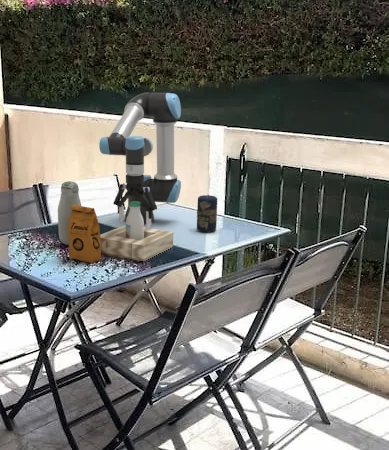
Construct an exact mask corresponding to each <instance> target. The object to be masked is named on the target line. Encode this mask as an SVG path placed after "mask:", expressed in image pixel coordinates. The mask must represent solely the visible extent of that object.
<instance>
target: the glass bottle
mask: <svg viewBox="0 0 389 450" xmlns="http://www.w3.org/2000/svg"><path fill="white" fill-rule="evenodd" d="M79 192H80V191H79V185H78V183H77V182H75V181H64V182H62V184H61V186H60V197H59V198H60V200H59V202H58V207H57V224H58V225H57V226H58V237H59V238H58V239H59V240H60V242H61V243H62V244H63V245H67V246H69V239H68V223H69V219H70V215H71V212H72V209H71V206H72V205H76V206H82V202H81V199H80V194H79Z"/></svg>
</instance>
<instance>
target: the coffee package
mask: <svg viewBox="0 0 389 450" xmlns="http://www.w3.org/2000/svg"><path fill="white" fill-rule="evenodd" d="M71 209H72V212H71V215H70V219H69V223H68V239H69V245H68V253H69V255H68V258H69V259H74V260H77V261H80V262H85V263H90V264H93V263H96V262H97V261H98V262H99V261H101V259H102V254H101V237H100V235H101V229H100V225H99V220H98V216H97V213H96V209H95V208H94V207H90V206H89V207H87V206H82V205H81V206H76V205H72V206H71Z"/></svg>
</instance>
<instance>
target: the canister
mask: <svg viewBox="0 0 389 450" xmlns="http://www.w3.org/2000/svg"><path fill="white" fill-rule="evenodd" d="M197 197H198V198H197V206H196V207H197V208H196V209H197V210H196V229H197V230H198V231H199V232H202V233H212V232H214V231H216V230H217V218H218V217H217V215H218V197H216V196H215V195H209V194H205V195H204V194H203V195H200V196H197Z"/></svg>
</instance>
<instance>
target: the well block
mask: <svg viewBox="0 0 389 450" xmlns="http://www.w3.org/2000/svg"><path fill="white" fill-rule="evenodd" d="M100 237H101V255H105V256H109V257H115V258H119V257H120V259H124V258H127V259H126V260H129V259H132V260H131V261H134V260H137V261H136V262H139V261H143V262H142V263H145V262H144V261H146V260H147V261H149V260H151V259H153V258H155V257H157V256H159V255H160V254H159V253H161V254H163V253H165V252H167V251H169V250H171V249H173V248H174V231H169V230H162V229H157V228H153V227H151V228H150V227H147V226H146V227H145V226H144V239H142V240H135V239H129V238H126V224H125V225H122V226H120V227H116V228H114V229H111V230H109V231H107V232H104V233H100ZM172 247H173V248H172ZM170 248H171V249H170ZM168 249H169V250H168ZM166 250H167V251H166ZM164 251H165V252H164ZM162 252H163V253H162ZM158 254H159V255H158ZM156 255H157V256H156ZM154 256H155V257H154ZM152 257H153V258H152ZM150 258H151V259H150ZM148 259H149V260H148ZM147 261H146V262H147Z"/></svg>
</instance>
